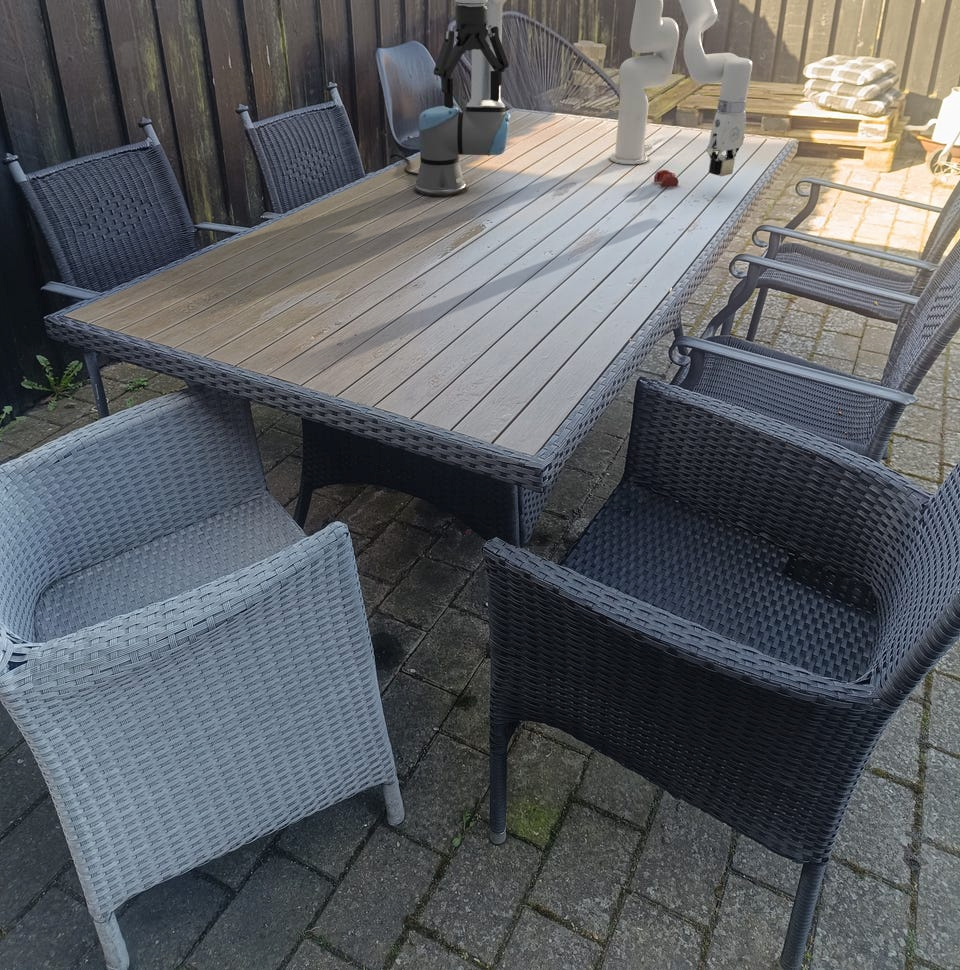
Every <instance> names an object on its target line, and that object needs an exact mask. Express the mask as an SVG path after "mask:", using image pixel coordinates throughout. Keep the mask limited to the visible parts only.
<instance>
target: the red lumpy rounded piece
mask: <svg viewBox="0 0 960 970" xmlns="http://www.w3.org/2000/svg"><path fill="white" fill-rule="evenodd" d="M653 182H654V183H659V186H660V188H669V187H671V188H672V187H678V186H679V179H678V177H677V174H676V173H674V172H670V171H669V170H668V169H661V170H659V171H657V172H656V173H655V175H654V178H653Z"/></svg>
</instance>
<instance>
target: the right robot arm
mask: <svg viewBox="0 0 960 970" xmlns="http://www.w3.org/2000/svg"><path fill="white" fill-rule="evenodd" d="M678 1H679V5H680V7H681V11H682V13H683V17H684V19H685V22H686V25H687V32H686V34H685V38H684V42H683V59H684V63H685V64H686V69H687V72H688V73H689V76H690V78H691V80H692V81H693V82H695V84H698V85H709V84H717V83H719V84H720V91H719V98H718V104H717V107H716V108H717V110H716V113H715V115H714V118H713V122H712V127H711V131H710V136H709V142H708V143H709V144H708V145H707V147H706V148H705V151H706V153H707V154H708V156H709V160H710V159H711V164H710V163H709V165H710V171H709V170H708V171H709V172H710V173H709V172H708V173H709V174H711V175H715V176H718V174H719V169H720V163H721V161H719V160H720V157H721V155H723V152H726V153H725V156H728V157H731V158H735V159H736V157H737V153H738V151H739V150H740V149H741V147H742V146H744V140H745V133H746V125H747V112H746V105H747V98H748V93H749V86H750V82H751V75H752V71H753V61H752V60H751V59H749V58H747V57H740V56H738V55H736V54H735V53H732V52H720V53H719V52H717V53H708V54H706V53H705V50H704V48H703V45H702V39H701V37H702V34H703V33H704V32H705V31H708V30H709V28H711V27H712V26H713V25H714V24H715V23H716V22H717V20H718V15H719V14H718V11H717V8H716V5H715V1H714V0H678ZM663 10H664V0H635V5H634V10H633V15H632V16H633V17H632V22H631V28H630V34H629V47H630V49H631V50H632V51H633V52H634V53H637V54H649V53H653V54H651V55H639V56H632V57H629V58H627V59H625V60H624V61H623V62H622V63H621V65H620V66H619V71H618V81H619V82H618V83H619V103H618V104H619V105H618V116H617V125H616V126H617V127H616V138H615V149H614V152H613V153H611V154H610V155H609V160H610V161H612V162H614V163H617V164H622V165H641V164H644V163H646V162H648V156H647V155H646V152H648V151H651V150H652V149H653V145H652V144H651V143H649V144H645V143H646V134H647V124H648V117H649V116H648V115H649V107H650V106H649V99H648V96H647V94H646V92H645V90H646V89H653V88H660V87H663V86H665V85H666V84H668V82H669V81H670V79H671V77H672V74H673V70H674V65H675V59H676V55H677V50H678V45H679V40H680V31H679V30H680V29H679V26H678V24H677V22H676V20H675V19H673V18H672V17H668V16H666V17H665V16H664V17H663V16H662V14H663V12H664V11H663Z"/></svg>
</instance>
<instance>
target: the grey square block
mask: <svg viewBox="0 0 960 970" xmlns="http://www.w3.org/2000/svg"><path fill="white" fill-rule="evenodd" d="M719 161H721V163H720V169H719V174H718V175H717V176H719V177H725V176H730V175H733V173H734V168H735V162H736V157H735V158H731V157H728V156H727V155H724V154H721V157H720V160H719ZM710 164H711V159H710V158H709V166H708V173H709V174H711V173H710V172H709V171H710Z"/></svg>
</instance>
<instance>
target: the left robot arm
mask: <svg viewBox="0 0 960 970" xmlns="http://www.w3.org/2000/svg"><path fill="white" fill-rule="evenodd" d="M507 1H508V0H454V2H455V3H456V4H457V5H455V8H454V11H455V12H454V13H455V14H454V15H455V19H454V20H455V24H456V28H455V30H450V29H445V30H444V33H443V42H442V45H441V48H440V51H439V54H438V57H437V60H436V63H435V66H434V68H433V75H435V76H438V77H440V80H441V81H440V82H441V83H440V85H441V87H440V89H441V93H443V97H444V98H443V102H444V103H443V105H439V106H434V107H430V108H428V109H425V110H423V111H422V112H421V113H420V114H419V117H418V118H419V119H418V120H419V121H418V132H419V133H418V134H419V157H420V158H419V159H420V161H419V162H420V164H419V168H418V172H414V171H410V170H409V169H410V167H411V161H410V159H408V158H407V157H405V156H403V155H402V154H400V153H391V154H390V156H389V158H390V159H393V157H398V158H400V159H402V160H404V161H405V162H406V163H407V165H406V167H404V172H405V174H409V175H412V176H416V180H415V183H414V184H415V185H414V186H415V192H417V193H418V194H420V195H424V196H430V197H450V196H455V195H459V194H461V193H463V192H464V191H466V181H465V179H464V176H463V172H462V169H461V165H460V156H461V155H463V156H487V157H490V156H500V155H502V154H504V153H505V151H506V149H507V148H506V147H507V143H508V137H509V131H510V130H509V129H510V122H511V113H510V112H508V111H506V107H507V106H506V104H504V102H503V101H502V99H501V98H502V97H501V94H502V93H501V92H502V83H503V82H502V80H503V79H502V77H503V75H502V74H503V73H504V72H505V70H506V69H508V68H509V66H510V63H509V60H508V58H507V55H506V53H505V49H504V47H503V7H504V5H505V3H506V2H507ZM456 40H457V41H456ZM455 41H456V42H455ZM454 43H455V44H454ZM467 51H469V52H470V51H471V53H470V55H471V58H470V60H471V63H470V64H471V66H470V100H469V101H468V102H467V104H465V111H460V110H459V107H458V106H456V105H454V80H453V79H454V78H453V77H451V75H452V73H453V72H454V70H455V68H456V67H457V65H458V64H459V62H460V60H461V58H462V57H463V55H464V54H465V53H466V52H467Z"/></svg>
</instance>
